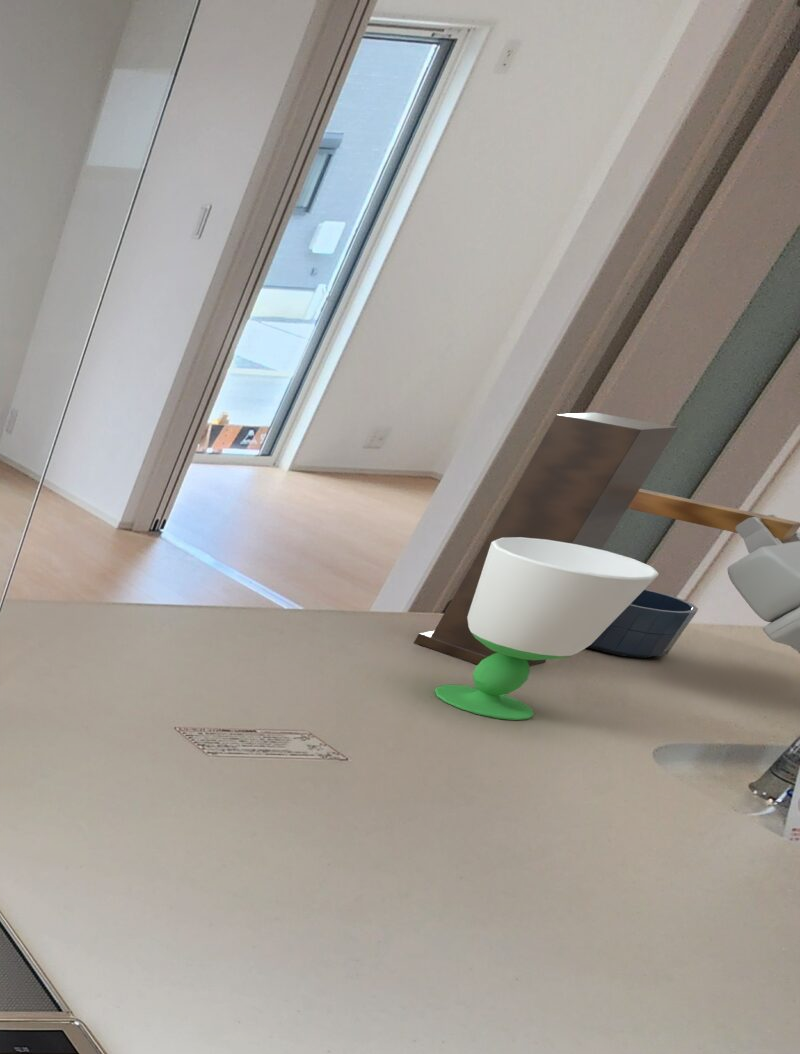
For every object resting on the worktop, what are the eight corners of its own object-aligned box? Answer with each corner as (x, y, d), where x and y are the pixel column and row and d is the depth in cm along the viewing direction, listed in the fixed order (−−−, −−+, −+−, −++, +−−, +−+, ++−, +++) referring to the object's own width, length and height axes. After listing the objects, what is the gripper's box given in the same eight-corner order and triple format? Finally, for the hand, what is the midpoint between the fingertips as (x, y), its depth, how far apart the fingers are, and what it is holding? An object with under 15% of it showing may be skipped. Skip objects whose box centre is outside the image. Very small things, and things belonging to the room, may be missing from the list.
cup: (581, 739, 113) (687, 586, 104) (432, 715, 116) (521, 564, 107) (529, 691, 124) (621, 548, 114) (393, 670, 127) (472, 529, 117)
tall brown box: (545, 662, 132) (694, 428, 117) (499, 672, 128) (647, 432, 113) (459, 634, 139) (589, 410, 124) (413, 642, 136) (541, 412, 120)
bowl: (682, 654, 138) (715, 607, 134) (637, 665, 133) (670, 616, 130) (582, 624, 146) (611, 579, 142) (536, 633, 141) (565, 587, 138)
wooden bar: (789, 541, 125) (802, 522, 123) (780, 542, 124) (793, 524, 122) (608, 500, 137) (619, 484, 136) (599, 502, 136) (609, 485, 135)
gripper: (917, 585, 123) (828, 493, 127) (839, 601, 115) (746, 503, 119) (843, 623, 128) (760, 534, 133) (763, 642, 120) (677, 546, 125)
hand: (753, 520), depth 126 cm, fingers closed on wooden bar, 2 cm apart
